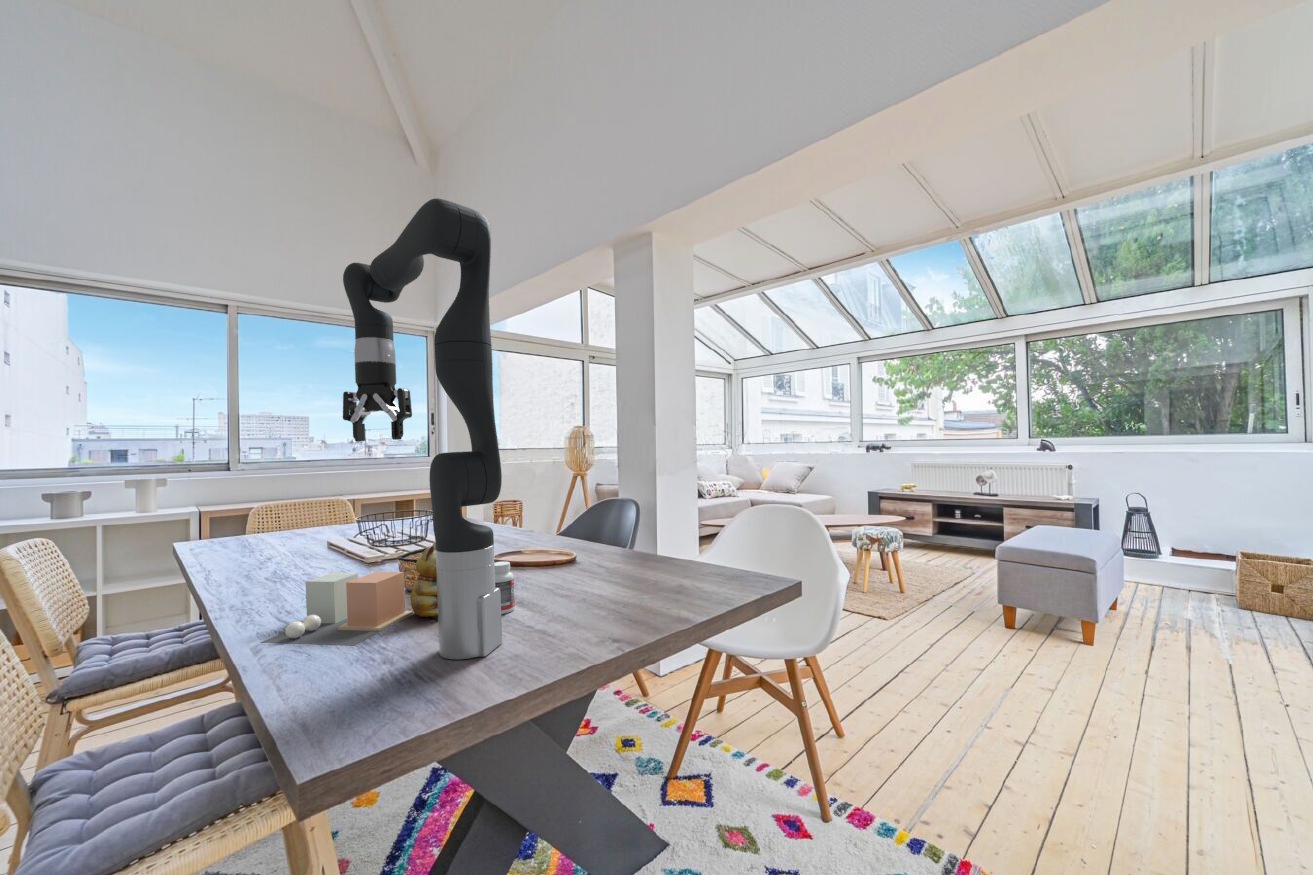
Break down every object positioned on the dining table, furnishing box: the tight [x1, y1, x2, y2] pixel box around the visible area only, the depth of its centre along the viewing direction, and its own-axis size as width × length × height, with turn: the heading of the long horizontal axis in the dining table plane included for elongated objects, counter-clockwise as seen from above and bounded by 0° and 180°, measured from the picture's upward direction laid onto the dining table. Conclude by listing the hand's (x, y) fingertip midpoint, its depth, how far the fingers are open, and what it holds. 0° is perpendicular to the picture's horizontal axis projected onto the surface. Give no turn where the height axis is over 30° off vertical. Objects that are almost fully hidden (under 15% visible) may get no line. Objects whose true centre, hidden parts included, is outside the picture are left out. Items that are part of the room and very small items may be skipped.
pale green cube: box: [305, 572, 359, 623], centre depth 108 cm, size 6×6×8 cm
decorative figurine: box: [410, 542, 438, 620], centre depth 109 cm, size 10×8×15 cm
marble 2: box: [302, 615, 321, 631], centre depth 101 cm, size 3×3×3 cm
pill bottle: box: [494, 561, 516, 615], centre depth 110 cm, size 5×5×10 cm
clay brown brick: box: [346, 571, 406, 626], centre depth 105 cm, size 6×8×8 cm
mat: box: [260, 610, 416, 647], centre depth 102 cm, size 19×17×1 cm
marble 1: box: [284, 620, 305, 639], centre depth 97 cm, size 3×3×3 cm
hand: (378, 440), depth 111 cm, fingers open, 8 cm apart
